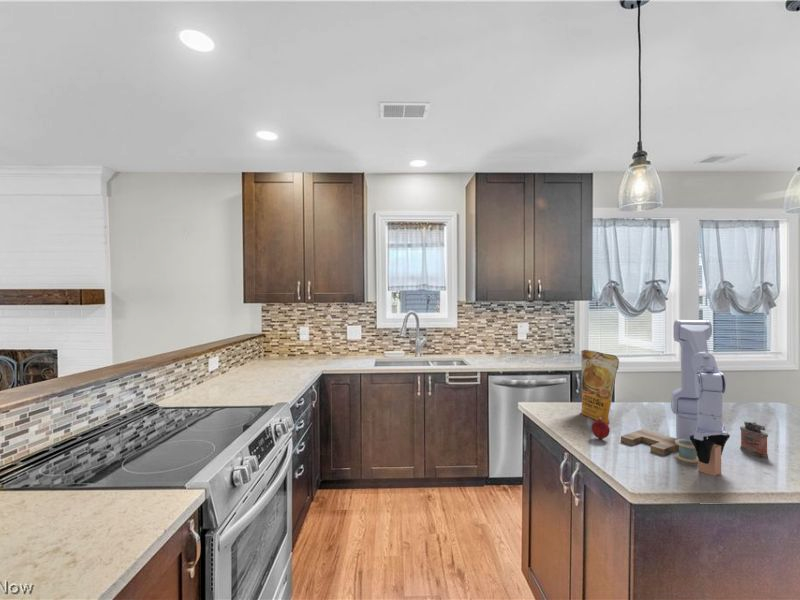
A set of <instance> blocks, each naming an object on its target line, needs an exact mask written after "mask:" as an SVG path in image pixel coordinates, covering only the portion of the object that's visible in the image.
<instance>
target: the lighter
mask: <svg viewBox="0 0 800 600" xmlns="http://www.w3.org/2000/svg"><path fill="white" fill-rule="evenodd" d="M743 422H744V425H742V426H740V428H739V430H740V446H739V448H740V450H741V451H743V452H745V453H747V454H749V455H752V456H754V455H755V457H757V456H758V458H760V457H761V458H760V459H768V458H769V455H768V437H769V433H766V432H764V431H766V427H765V426H764V425H761V424H759V423H757V422H755V421H753V422H752V421H748V420H746V421H743Z"/></svg>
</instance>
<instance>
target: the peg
mask: <svg viewBox="0 0 800 600" xmlns="http://www.w3.org/2000/svg"><path fill="white" fill-rule="evenodd" d="M698 472H701V473H703V472H704V473H703V474H706V473H707V475H709V474H710V476H712V475H713V477H716V475H717V476H718V474H719V475H721V474H722V455H721V446H720V445H716V444H714V445H713V447H712V450H711V454H710V460H709V463H708V464H705V463H702V462H698ZM720 473H721V474H720Z"/></svg>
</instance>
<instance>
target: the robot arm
mask: <svg viewBox="0 0 800 600" xmlns="http://www.w3.org/2000/svg"><path fill="white" fill-rule="evenodd" d="M712 335H713V325H712V322H711V321H710V320H708V319H705V320H704V319H703V320H702V319H701V320H699V319H698V320H697V319H694V320H693V319H692V320H691V319H675V320H674V322H673V340H674V341H675V342H677V343H679V345H680V387H678V388H676V389H675V390H673V391H672V392H671V397H670V408H671V409H670V410H671V412H672V413H673V414H674V415H675V422H676V423H675V425H676V426H675V427H676V428H675V429H676V430H675V431H676V432H675V434H676V435H675V436H672V437H673V438H676V439H686V440H691V442H692V443H693V445H694V447H695V449H696V456H697V457H698V459H699V462H702V463H705V464H708V463H709V460H710V454H711V450H712V447H713V445H714V444H716V445H720V446H721V456H722V455H723V451H724V448H725V445H726V443H727V441H728V440H729V439H730V437H731V435H730V434H729V433H728V431H726V425H725V424H723V394H724V393H726V388H727V387H726V385H727V383H726V378H725V375H724V373H723V372H722V371H721V370H719V368H718V365H717V361H716V358H715V356H714V355H713V354H711V353H709V347H708V341H710V338H711V337H712ZM699 462H698V463H699Z"/></svg>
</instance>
